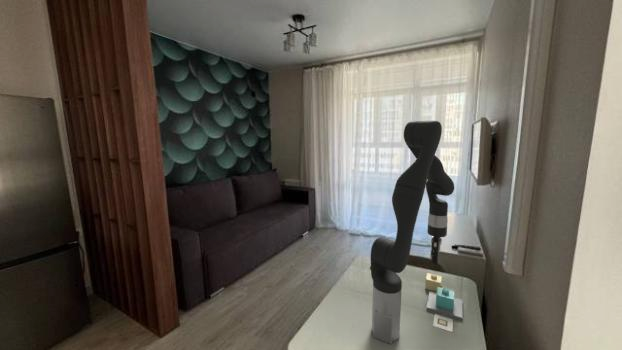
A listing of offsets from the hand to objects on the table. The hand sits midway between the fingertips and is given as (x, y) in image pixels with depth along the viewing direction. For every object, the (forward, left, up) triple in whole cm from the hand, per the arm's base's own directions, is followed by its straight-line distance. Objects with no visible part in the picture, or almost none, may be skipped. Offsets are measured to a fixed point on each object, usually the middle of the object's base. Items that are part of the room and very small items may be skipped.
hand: (435, 259), depth 111 cm
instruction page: (-23, -5, -13) cm, 27 cm away
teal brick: (-12, -5, -12) cm, 18 cm away
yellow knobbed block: (0, 0, -13) cm, 13 cm away
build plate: (-12, -5, -13) cm, 19 cm away
